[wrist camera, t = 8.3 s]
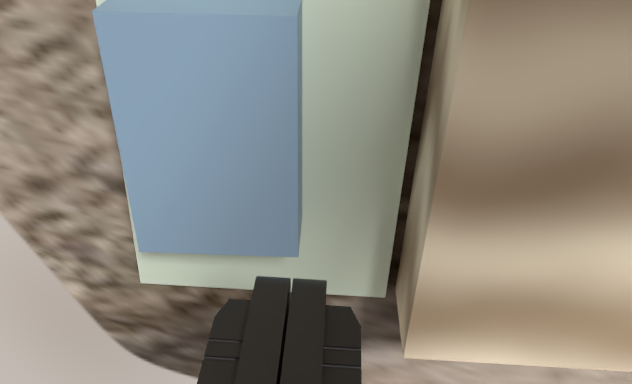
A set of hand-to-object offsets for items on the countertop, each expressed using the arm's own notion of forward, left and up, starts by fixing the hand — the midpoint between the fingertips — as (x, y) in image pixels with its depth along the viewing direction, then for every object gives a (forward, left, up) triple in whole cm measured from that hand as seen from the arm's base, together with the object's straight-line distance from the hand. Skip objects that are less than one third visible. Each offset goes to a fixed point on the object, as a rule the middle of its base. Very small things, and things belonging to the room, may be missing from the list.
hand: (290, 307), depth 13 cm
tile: (+1, -3, -9) cm, 10 cm away
